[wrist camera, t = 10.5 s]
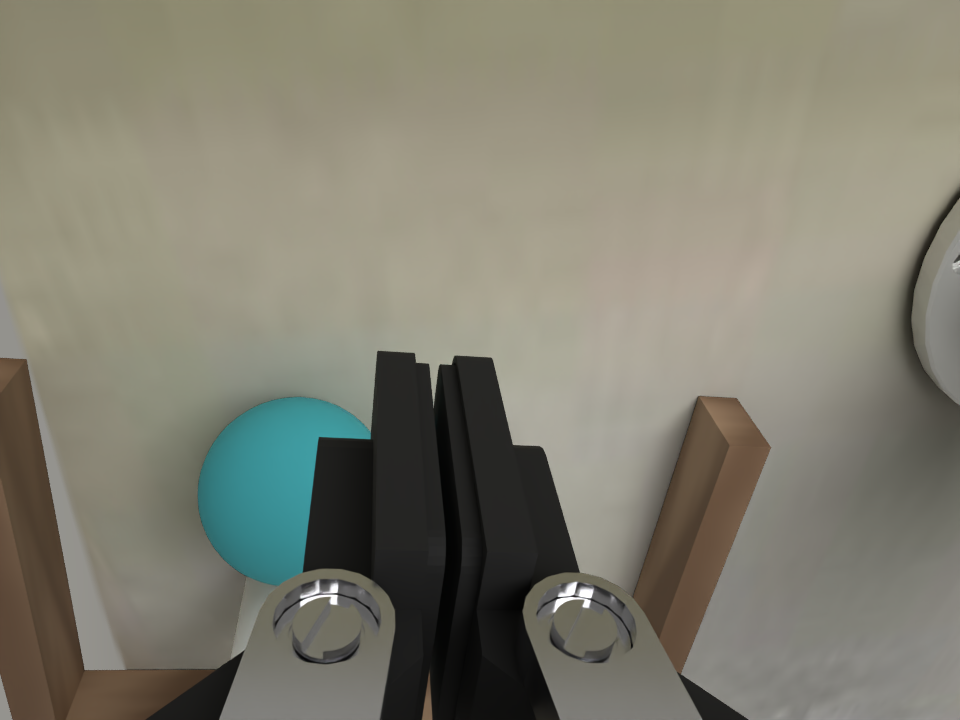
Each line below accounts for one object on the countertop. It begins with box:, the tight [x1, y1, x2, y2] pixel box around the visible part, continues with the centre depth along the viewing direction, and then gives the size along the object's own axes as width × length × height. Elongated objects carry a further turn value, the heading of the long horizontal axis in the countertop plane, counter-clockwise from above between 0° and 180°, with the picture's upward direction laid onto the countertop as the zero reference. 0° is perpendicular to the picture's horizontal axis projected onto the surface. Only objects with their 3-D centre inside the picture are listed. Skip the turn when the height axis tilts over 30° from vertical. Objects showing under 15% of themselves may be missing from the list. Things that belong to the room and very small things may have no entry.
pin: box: [230, 577, 278, 660], centre depth 27 cm, size 2×2×8 cm
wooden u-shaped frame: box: [0, 358, 771, 720], centre depth 30 cm, size 26×17×3 cm, turn 83°
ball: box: [198, 397, 371, 586], centre depth 25 cm, size 6×6×6 cm
